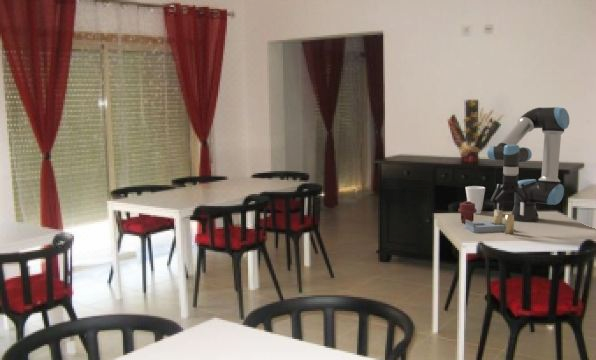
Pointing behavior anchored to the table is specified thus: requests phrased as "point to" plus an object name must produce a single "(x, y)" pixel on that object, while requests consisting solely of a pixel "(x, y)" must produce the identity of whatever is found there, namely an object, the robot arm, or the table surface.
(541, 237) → the table surface
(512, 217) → the bushing
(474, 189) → the cup
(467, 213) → the mechanical component
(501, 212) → the jig
